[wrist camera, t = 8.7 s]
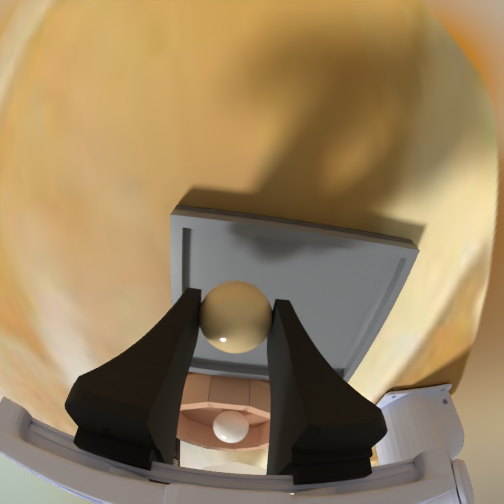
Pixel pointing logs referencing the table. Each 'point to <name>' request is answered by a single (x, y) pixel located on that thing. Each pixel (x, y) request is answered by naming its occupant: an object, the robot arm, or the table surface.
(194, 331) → the robot arm
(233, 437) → the white ball
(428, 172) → the table surface
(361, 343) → the parts tray
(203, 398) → the bowl
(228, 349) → the tan ball
